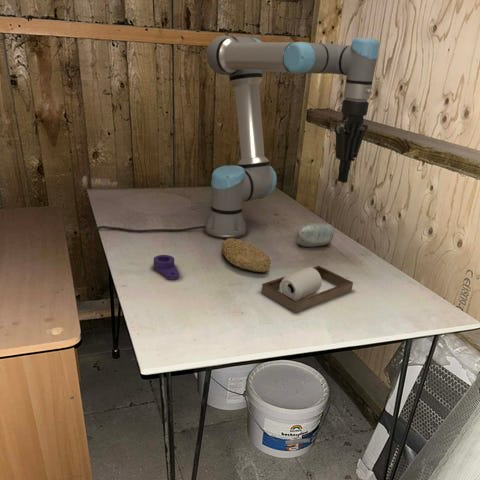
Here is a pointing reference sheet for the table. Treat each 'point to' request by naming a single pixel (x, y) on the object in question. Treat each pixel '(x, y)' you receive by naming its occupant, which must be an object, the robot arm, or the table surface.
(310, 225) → the streaked grey-green pebble
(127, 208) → the table surface
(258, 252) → the sponge
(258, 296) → the table surface
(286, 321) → the table surface
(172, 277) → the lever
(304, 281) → the can
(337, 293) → the walnut frame
